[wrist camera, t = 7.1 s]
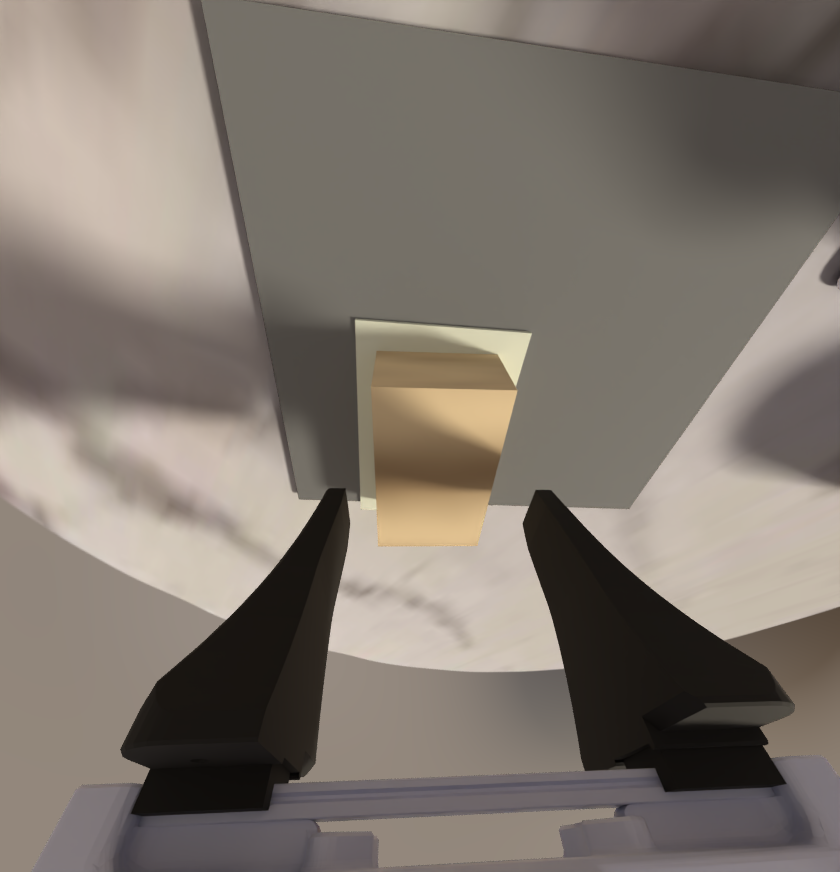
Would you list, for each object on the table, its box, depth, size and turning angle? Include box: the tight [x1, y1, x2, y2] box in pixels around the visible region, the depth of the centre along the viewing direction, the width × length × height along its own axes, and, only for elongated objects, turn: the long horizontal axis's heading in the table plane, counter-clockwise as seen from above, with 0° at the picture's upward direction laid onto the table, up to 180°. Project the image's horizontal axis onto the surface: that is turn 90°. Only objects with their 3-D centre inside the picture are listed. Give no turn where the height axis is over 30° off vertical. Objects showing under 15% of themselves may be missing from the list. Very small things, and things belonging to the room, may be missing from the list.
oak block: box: [371, 351, 518, 546], centre depth 15 cm, size 9×5×3 cm, turn 177°
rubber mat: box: [201, 0, 840, 510], centre depth 14 cm, size 20×18×1 cm
